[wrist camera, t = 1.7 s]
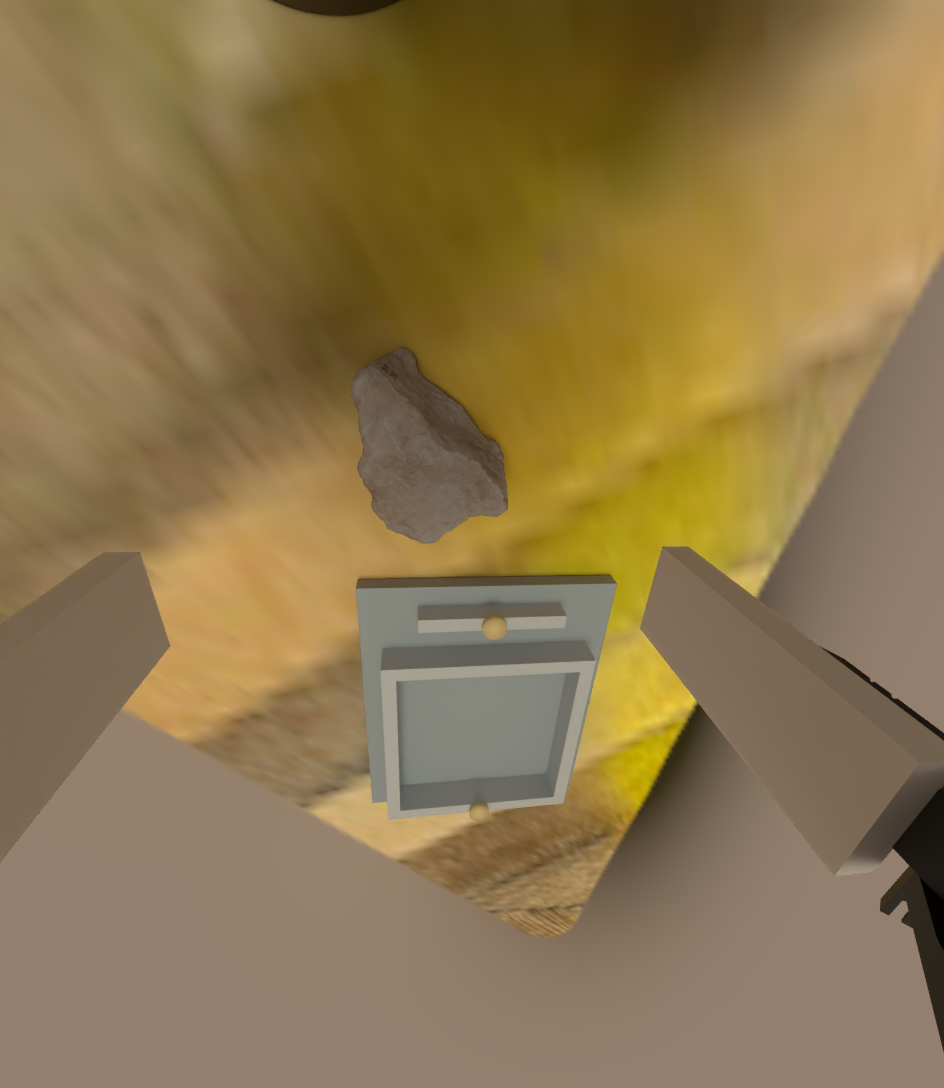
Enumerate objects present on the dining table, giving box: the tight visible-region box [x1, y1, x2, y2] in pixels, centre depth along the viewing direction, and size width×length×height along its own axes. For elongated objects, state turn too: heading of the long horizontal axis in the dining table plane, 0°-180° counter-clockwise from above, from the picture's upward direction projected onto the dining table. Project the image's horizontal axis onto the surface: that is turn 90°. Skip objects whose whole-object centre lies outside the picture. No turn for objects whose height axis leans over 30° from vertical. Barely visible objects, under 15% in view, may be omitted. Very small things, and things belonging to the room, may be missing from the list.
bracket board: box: [356, 575, 617, 821], centre depth 33 cm, size 22×18×4 cm
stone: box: [352, 347, 508, 544], centre depth 23 cm, size 8×10×6 cm
